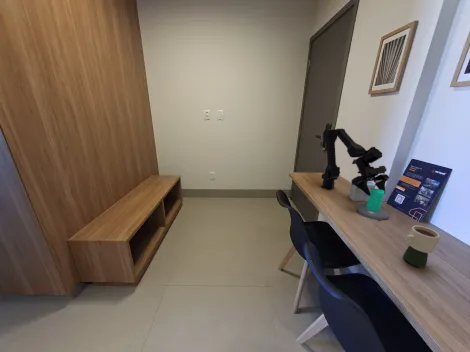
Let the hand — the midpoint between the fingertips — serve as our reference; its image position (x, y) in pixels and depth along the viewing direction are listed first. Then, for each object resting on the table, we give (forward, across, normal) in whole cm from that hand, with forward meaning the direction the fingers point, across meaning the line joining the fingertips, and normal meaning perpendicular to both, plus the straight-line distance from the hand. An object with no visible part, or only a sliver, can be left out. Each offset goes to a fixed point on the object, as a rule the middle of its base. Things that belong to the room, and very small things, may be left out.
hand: (377, 194), depth 101 cm
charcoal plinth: (+7, 0, +8) cm, 10 cm away
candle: (+6, 0, +6) cm, 9 cm away
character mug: (+30, -16, -15) cm, 37 cm away
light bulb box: (-3, +7, +19) cm, 20 cm away
